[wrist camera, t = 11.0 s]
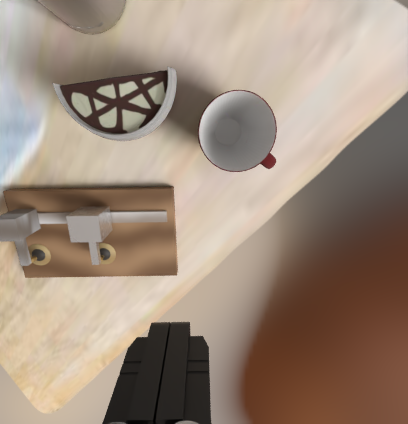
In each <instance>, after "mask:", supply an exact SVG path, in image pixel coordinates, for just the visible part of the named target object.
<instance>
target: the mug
mask: <svg viewBox="0 0 408 424" xmlns="http://www.w3.org/2000/svg"><path fill="white" fill-rule="evenodd" d="M276 132H277V127H276V120H275V116H274V114H273V111H272V109H271V108H270V106H269V105H268V103H267V102H266V101H265V100H264V99H263V98H261V97H260V96H258V95H257V94H255V93H253V92H250V91H245V90H232V91H228V92H225V93H223V94H221V95H219V96H217V97H216V98H215V99H213V100H212V101H211V102H210V103H209V104H208V106H207V107H206V108H205V110H204V112H203V113H202V116H201V118H200V121H199V126H198V139H199V144H200V147H201V149H202V151H203V153H204V155H205V156H206V158H207V159H208V160H209V161H210V162H211V163H212V164H214V165H215V166H216V167H218V168H220V169H223V170H226V171H230V172H242V171H246V170H249V169H252V168H254V167H256V166H257V165H259V164H262V165H263V166H264V167H266V168H268V169H270V168H272V167H273V166H274V165H275V163H276V159H275V157H274V156H273V155H272V154H271V153H270V151H271V150H272V148H273V145H274V143H275V139H276Z"/></svg>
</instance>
